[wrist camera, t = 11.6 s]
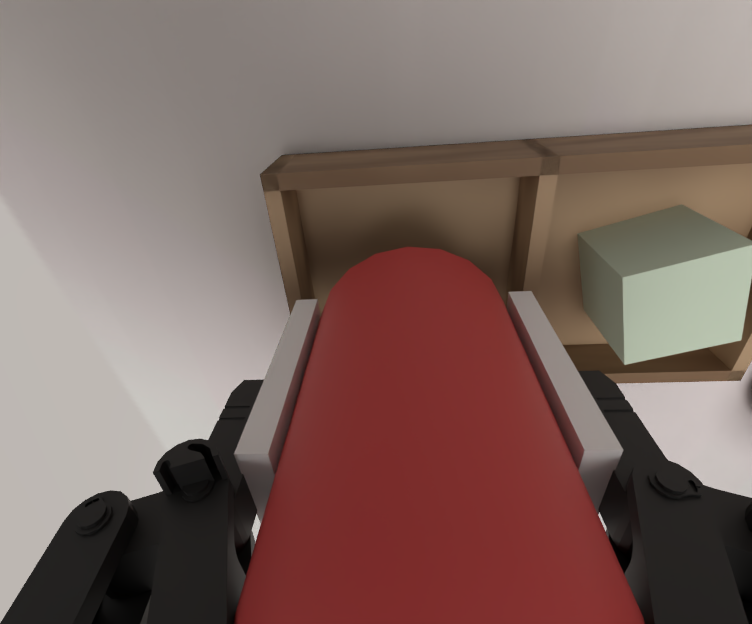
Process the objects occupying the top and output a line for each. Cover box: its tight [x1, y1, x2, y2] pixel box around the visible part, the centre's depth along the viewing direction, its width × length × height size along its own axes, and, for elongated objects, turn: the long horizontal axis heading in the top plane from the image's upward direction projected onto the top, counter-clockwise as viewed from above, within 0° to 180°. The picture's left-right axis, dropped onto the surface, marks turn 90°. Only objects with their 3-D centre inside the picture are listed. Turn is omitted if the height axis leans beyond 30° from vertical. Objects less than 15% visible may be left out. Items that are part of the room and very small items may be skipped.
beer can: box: [234, 247, 645, 624], centre depth 10 cm, size 7×7×12 cm
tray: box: [260, 125, 752, 383], centre depth 17 cm, size 10×20×3 cm, turn 94°
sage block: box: [577, 204, 752, 365], centre depth 16 cm, size 4×4×4 cm
